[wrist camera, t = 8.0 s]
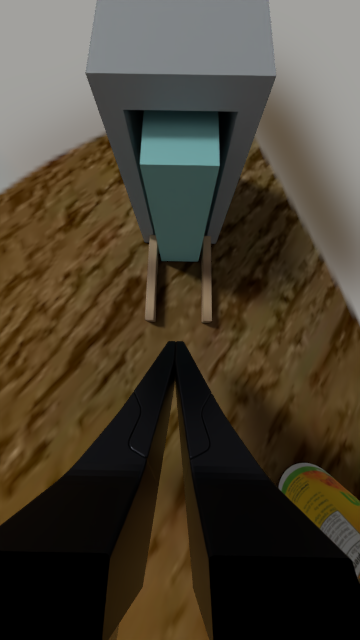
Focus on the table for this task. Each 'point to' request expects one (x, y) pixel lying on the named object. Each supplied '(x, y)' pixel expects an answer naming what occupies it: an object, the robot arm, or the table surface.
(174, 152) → the slider
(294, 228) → the table surface
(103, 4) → the socket
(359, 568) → the supplement bottle
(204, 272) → the track
